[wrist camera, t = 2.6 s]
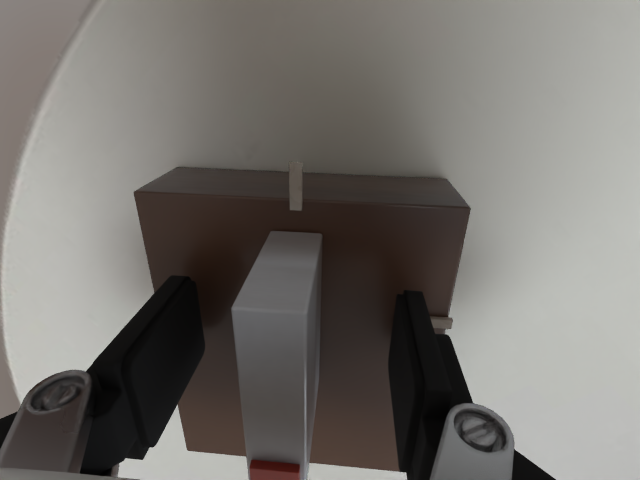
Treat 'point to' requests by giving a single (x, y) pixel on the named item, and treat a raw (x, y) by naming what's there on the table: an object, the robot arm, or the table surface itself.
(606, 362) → the table surface
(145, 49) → the table surface
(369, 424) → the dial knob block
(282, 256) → the grey rectangular block
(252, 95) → the table surface
